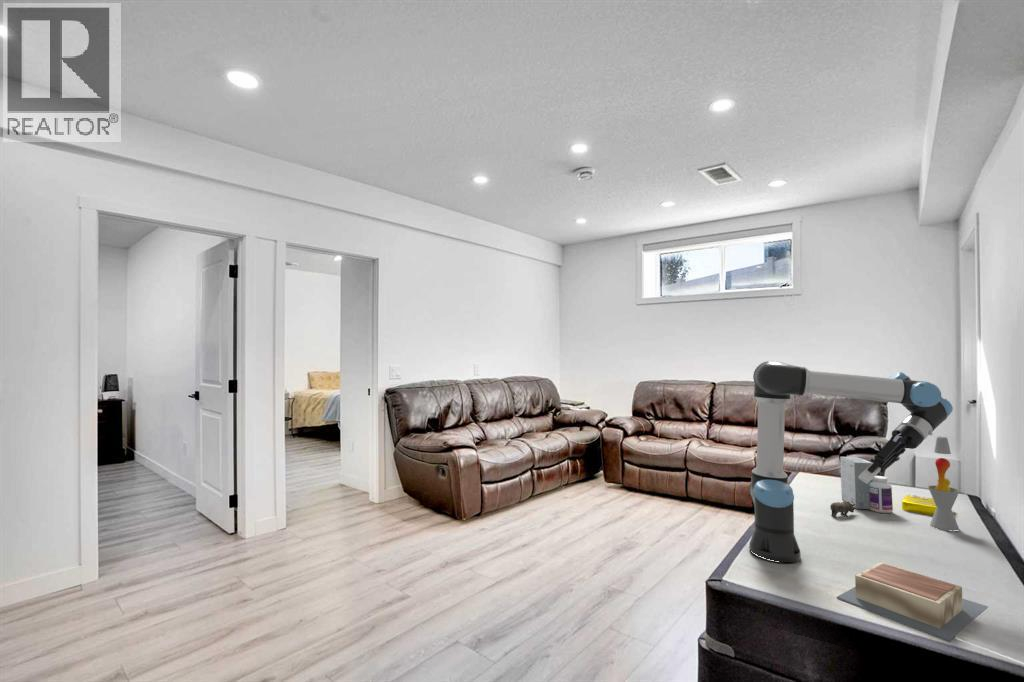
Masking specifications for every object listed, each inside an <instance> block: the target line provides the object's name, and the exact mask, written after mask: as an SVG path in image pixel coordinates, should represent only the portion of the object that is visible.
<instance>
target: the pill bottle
mask: <svg viewBox="0 0 1024 682" xmlns="http://www.w3.org/2000/svg"><path fill="white" fill-rule="evenodd" d="M872 480H873V482H871V483H870V484H869V493H870V509H869V510H871V511H873V512H875V513H879V514H880V513H881V514H891V513H893V511H894V508H893V506H894V505H893V492H892V491H893V488H892V485H891V484H890V483H889V482H888V477H887V476H883V475H882V476H881V475H876V476H875V477H874V478H873V479H872Z"/></svg>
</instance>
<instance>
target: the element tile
mask: <svg viewBox="0 0 1024 682" xmlns="http://www.w3.org/2000/svg"><path fill="white" fill-rule="evenodd" d="M936 508H937V506H936V504H935V502H934V499H933V497H932V498H931V497H926V496H920V495H917V494H906V495H905V496H904V497H903V498H902V500H901V509H902V511H905V512H908V513H909V512H910V513H915V514H921V515H926V516H931V515H934V513H935V510H936Z"/></svg>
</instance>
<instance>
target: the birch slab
mask: <svg viewBox="0 0 1024 682" xmlns="http://www.w3.org/2000/svg"><path fill="white" fill-rule="evenodd" d="M854 577H855V581H854V583H855V586H854V587H856V598H858V599H861V600H864V601H867V602H869V603H872V604H875V605H877V606H880V607H883V608H885V609H888V610H891V611H893V612H896V613H899V614H902V615H904V616H907V617H910V618H912V619H915V620H918V621H920V622H923V623H926V624H928V625H931V626H934V627H937V628H939V629H940V628H941V627H942V626H944V625H945V624H946V623H947V622H949V621H950V620H951V619H952V618H954V617H955V616H956V615H957V614H958V613H960V612H961V611H962V610H963V605H962V598H963V587H962V586H960V585H958V584H957V585H956V584H953V583H951V582H947V581H945V580H941V579H937V578H934V577H931V576H928V575H925V574H921V573H919V572H915V571H911V570H908V569H906V568H905V569H904V568H902V567H898V566H895V565H891V564H889V563H885V562H882V561H880V562H878V563H875V564H874V565H872V566H870V567H869V568H867V569H864V570H862V571H861V572H859V573H857V574H855V575H854Z"/></svg>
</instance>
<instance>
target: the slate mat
mask: <svg viewBox="0 0 1024 682" xmlns="http://www.w3.org/2000/svg"><path fill="white" fill-rule="evenodd" d="M837 598H838V600H840V599H841V600H840V601H843V602H845V601H846V603H848V602H849V604H850V603H851V605H853V606H856V607H859V608H861V609H864V610H867V611H869V612H871V613H873V614H877V615H879V616H882V617H884V618H887V619H890V620H892V621H894V622H897V623H900V624H903V625H906V626H907V627H911V628H913V629H915V630H919V631H920V632H924V633H926V634H929V635H932V636H935V637H938V639H939V638H940V639H941V640H944V641H947V642H952V641H953V640H954V639H955V638H956V636H957V635H958V634H959V633H960V632H961V631H963V629H965V628H966V627H967V626H968V625H969V624H970V623H971V622H973V621H974V620H975V619H976V618H977V617H978V616H979V615H981V614H982V613H983V612H984V611H985V610H987V609H988V608H989V606H987V605H985V604H981V603H979V602H975V601H972V600H969V599H966V598H963V597H962V605H963V610H962V611H961V612H960V613H958V614H957V615H956V616H955V617H954V618H952V619H951V620H950V621H949V622H947V623H946V624H945V625H944V626H942V627H941V628H940V629H939V628H937V627H934V626H931V625H928V624H926V623H923V622H920V621H918V620H915V619H912V618H910V617H907V616H904V615H902V614H899V613H896V612H893V611H891V610H888V609H885V608H883V607H880V606H877V605H875V604H872V603H869V602H867V601H864V600H861V599H858V598H856V586H854V587H852V588H850V589H849V590H847V591H844V592H843V593H841V594H839V595H838V596H836V599H837Z"/></svg>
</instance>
